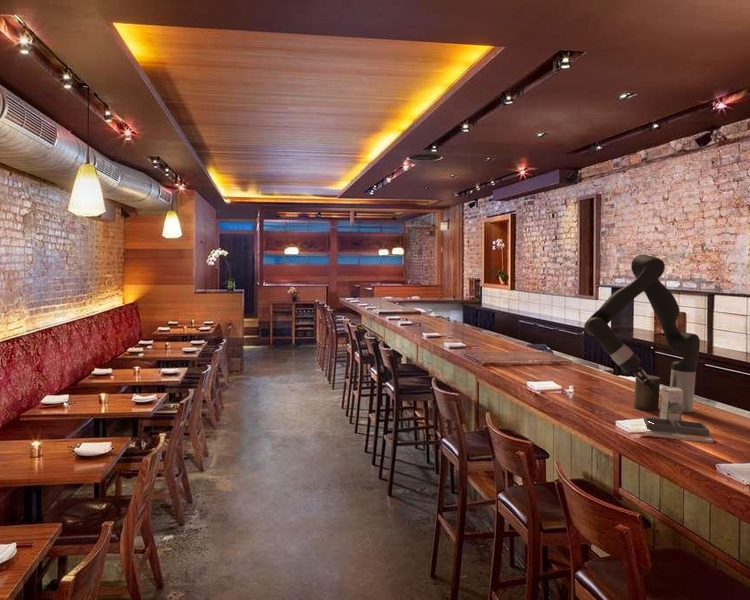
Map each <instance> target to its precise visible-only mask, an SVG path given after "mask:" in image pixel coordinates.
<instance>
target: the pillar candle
mask: <svg viewBox="0 0 750 600" xmlns="http://www.w3.org/2000/svg"><path fill="white" fill-rule="evenodd" d="M647 375H648V377H649V379H650V380H651V381H652V382H653V384H654V385H655V386H656V387H657V388H658V390H659V391H658V392H657V393H655V394H654V393H653V392H652V391H651V390H650V389H649V388H648V387H647V386H645V384H644V383H642V382H640V380H639V379H638V378H636V377H635V379H634V380H635V383H634V395H633V396H634V399H633V407H635V409H637V410H641V411H646V412H647V411H648V412H657V410H658V411H659V410H660V391H661V387H660V386H661V378H660V377H659V376H656V375H649V373H647Z"/></svg>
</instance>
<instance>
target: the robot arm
mask: <svg viewBox="0 0 750 600" xmlns="http://www.w3.org/2000/svg"><path fill="white" fill-rule="evenodd" d="M630 267H631V272H632V274H633V275H634V277H635V279H634V280H633V281H632V282H631V283H628V284H627V285H626V286H624V287H621V288H620V289H617V290H616V291H615V292H614V293H612V294H611V295H610V296H609V297H608V298H607V299H606V300H605V301H604V303H603V304H601V306H600V307H599V309H598V310H597V311H595V312H594V313H593V314H592V315H590V317H589V318H588V319H587V320H586V321H585V323H584V326H583V327H584V331H585V333H586V334H587V335H589V336H592V337H595V338H596V340H597V341H599V342H600V346H601V348H602V349H603V350H604V351H605V352H606V354H608V355H609V357H611V359H612V361H613V362H615V364H616V365H617V366H618V367H619V368H620V369H621V370H622V371H623V372H624V373H625V374H628V373H630V372H632V375H633V376H634V377H635V379H636V378H638V379H639V380H640V382H642V383H644V384H645V386H647V387H648V388H649V389H650V390H651V391H652V392H653V393H654V394H655V393H657V392H658V391H659V392H660V390H658V388H657V387H656V386H655V385H654V384H653V382H652V381H651V380H650V379H649V377H648V373H646V371H645V370H644V369H643V368H642V367H640V364H641V363H642V361H641V359H640V358H639V356H638V355H636V354H635V352H634V351H633V350H632V349H631V348H630V347H629V346H627V345H626V344H625V343H624V342H623V341H622V340H621V339H620V338H619V337H618V336H617V335H616V333H614V331H613V329H612V328H611V327H610V325H609V323H610V322H611V321H613V320H615V319H616V318H617V317H618V315H620V314H621V313H622V311H623V310H624V309H625V308H626V307H627V306H628V305H629V304H631V302H632V301H634V299H635V298H637V297H638V296H639V295H641V293H643V292H644V293H645V296H646V297H647V300H648V301H649V303H650V306H651V308H652V310H653V311H654V314H655V316H656V318H657V320H658V322H659V324H660V326H661V329H662V331H663V333H664V336H665V340H666V343H667V345H668V348H669V349H670V350H671V351H672V352H673V353H675V354H681V355H683V358H682V359H681V360H677V361H672V363H671V368H670V371H671V372H670V379H669V380H670V381H669V382H670V383H669V387H677V388H679V389H681V390H683V401H682V412H681V413H693V412H694V411H693V409H694V399H695V398H694V397H695V386H696V375H697V373H696V371H697V367H698V364H699V356H700V355H699V354H700V349H701V347H700V346H701V339H700V337H699V336H698V335H697V334H696V333H693V332H692V333H691V332H685V331H684V332H683V331H681V330H679V328H678V325H677V320H678V319H679V315H680V307H679V304H678V302H677V299H676V297H675V296H674V294H673V293H672V292H671V291H670V290H669V289H668V288H667V287H666V285H664V284H663V283H662V282H661V281H660V280H659V279H660V278H661V277H662V276H663V275H664V272H665V270H666V269H665V268H666V265H665V262H664V261H663V260H662V259H660V258H658V257H655V256H651V255H648V254H638V255H636V256H635V257H633V259H632V261H631V266H630Z"/></svg>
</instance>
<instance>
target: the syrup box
mask: <svg viewBox="0 0 750 600" xmlns="http://www.w3.org/2000/svg"><path fill="white" fill-rule="evenodd" d="M682 401H683V390H681V389H679V388H677V387H670V386H661V387H660V397H659V409H658V412H659V413H658V418H659V419H669V420H672V421H673V423H674V420H678V421H682V413H683V412H682Z"/></svg>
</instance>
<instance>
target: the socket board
mask: <svg viewBox="0 0 750 600" xmlns="http://www.w3.org/2000/svg"><path fill="white" fill-rule="evenodd" d="M643 420H644V422H645V424H646V427H647V429H649V430H651V431H646V433H645V435H646V436H648V437H657V438H666V439H675V440H681V441H682V440H683V441H684V440H685V441H691V442H701V443H709V444H710V443H711V444H714V439H713V438H712V437H711V436H710V429H709V427H707V426H706V424H705V423H703V422H697V421H696V422H695V421H689V420H688V421H687V420H681V421H678V420H674V423H673V421H672V420H669V419H659V417H649V416H648V417H646V416H644V417H643V419H642V421H643ZM648 421H650V422H652V423H654V424H652V423H649V422H648Z"/></svg>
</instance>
